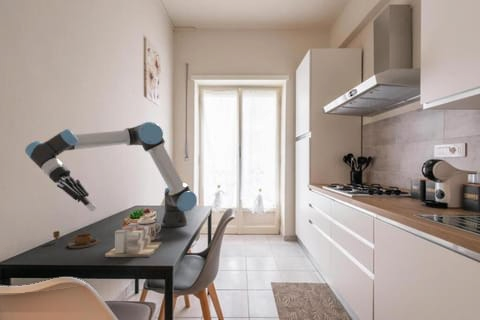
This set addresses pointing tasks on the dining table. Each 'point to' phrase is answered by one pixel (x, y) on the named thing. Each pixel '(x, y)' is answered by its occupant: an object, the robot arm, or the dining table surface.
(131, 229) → the key terracotta
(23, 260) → the dining table surface
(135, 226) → the key
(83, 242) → the place setting
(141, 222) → the teacup with lid
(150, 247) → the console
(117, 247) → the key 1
